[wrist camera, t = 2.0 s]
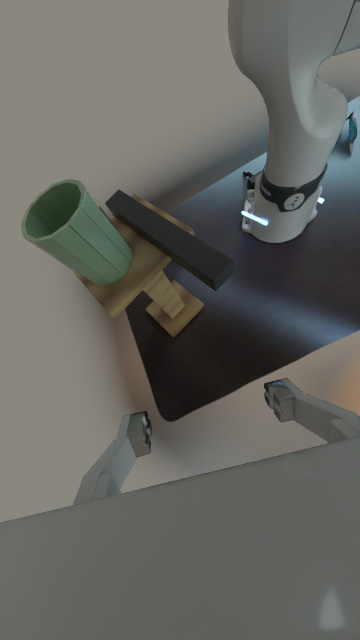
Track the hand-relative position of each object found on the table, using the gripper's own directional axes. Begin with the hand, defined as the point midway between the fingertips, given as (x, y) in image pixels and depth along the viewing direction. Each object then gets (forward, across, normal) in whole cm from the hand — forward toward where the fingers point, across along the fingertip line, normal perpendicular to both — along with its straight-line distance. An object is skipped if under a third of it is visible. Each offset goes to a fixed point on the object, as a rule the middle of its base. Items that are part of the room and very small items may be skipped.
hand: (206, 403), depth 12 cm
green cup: (+19, +9, -11) cm, 23 cm away
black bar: (+18, 0, -12) cm, 21 cm away
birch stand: (+39, 0, +4) cm, 39 cm away
